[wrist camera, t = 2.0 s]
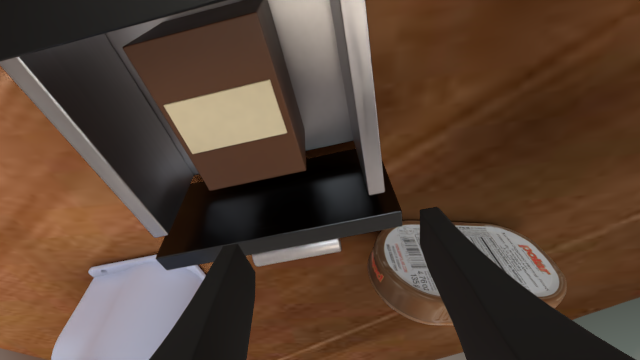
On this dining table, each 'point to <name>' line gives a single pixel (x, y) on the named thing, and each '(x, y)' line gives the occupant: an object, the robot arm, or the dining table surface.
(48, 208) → the dining table surface
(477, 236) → the tin
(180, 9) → the black box
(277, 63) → the packet
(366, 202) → the drawer
